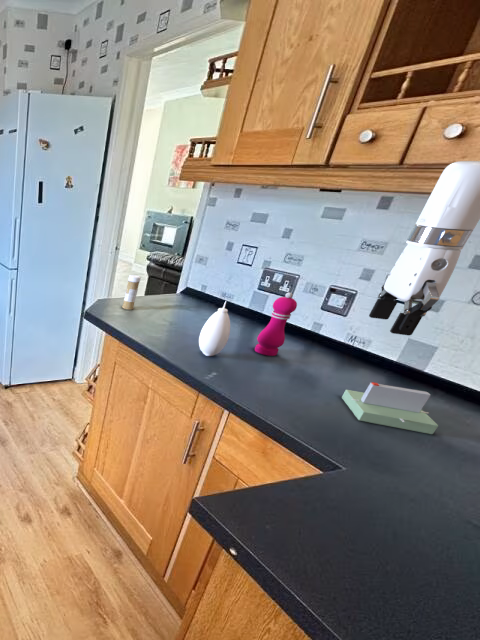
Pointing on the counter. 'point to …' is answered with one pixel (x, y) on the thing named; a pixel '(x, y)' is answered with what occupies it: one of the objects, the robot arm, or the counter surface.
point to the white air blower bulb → (215, 332)
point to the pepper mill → (276, 326)
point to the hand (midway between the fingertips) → (388, 325)
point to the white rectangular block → (395, 397)
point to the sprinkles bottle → (131, 292)
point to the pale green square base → (388, 414)
